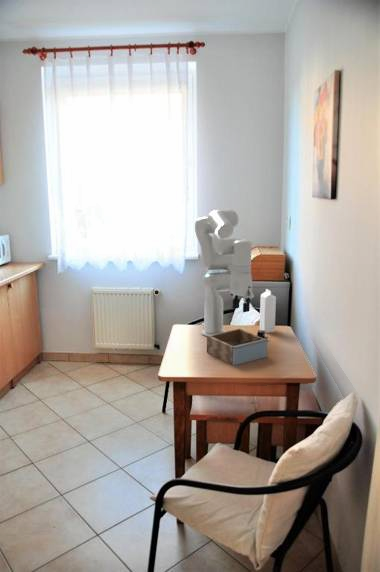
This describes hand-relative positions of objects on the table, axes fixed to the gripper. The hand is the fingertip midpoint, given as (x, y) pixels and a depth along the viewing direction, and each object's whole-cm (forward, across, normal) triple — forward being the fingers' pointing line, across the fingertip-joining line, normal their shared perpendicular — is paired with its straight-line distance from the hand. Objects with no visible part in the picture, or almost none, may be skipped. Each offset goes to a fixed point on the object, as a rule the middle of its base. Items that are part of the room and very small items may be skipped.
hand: (241, 309), depth 201 cm
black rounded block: (+22, -13, +24) cm, 35 cm away
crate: (+22, -3, 0) cm, 22 cm away
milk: (+22, -21, +36) cm, 47 cm away
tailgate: (+21, +8, 0) cm, 23 cm away
